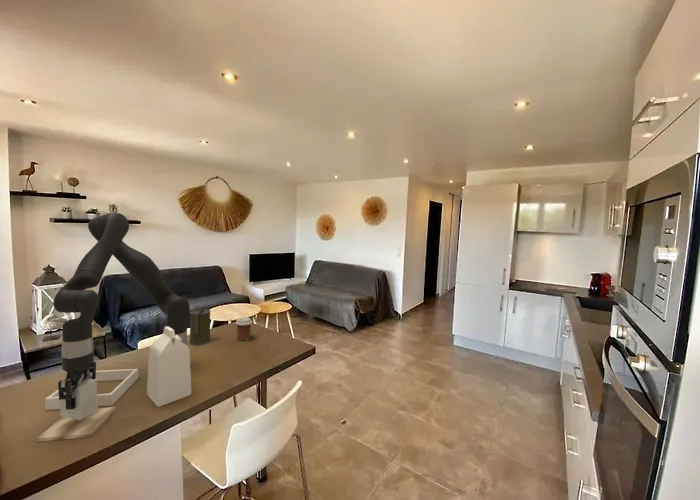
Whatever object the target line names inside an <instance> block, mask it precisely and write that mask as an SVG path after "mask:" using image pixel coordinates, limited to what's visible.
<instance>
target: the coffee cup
mask: <svg viewBox="0 0 700 500" xmlns="http://www.w3.org/2000/svg"><path fill="white" fill-rule="evenodd" d="M252 324H253V320H251V318H250V317H249V316H248V317H247V316H246V317H244V316H243V317H238V319H237V320H236V321H235V325H236V330H237V331H236V332H237V340H238V339H239V340H247V339H249V338H250V337H251V336H250V335H251V329H252ZM249 340H250V339H249ZM247 341H248V340H247Z"/></svg>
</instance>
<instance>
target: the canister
mask: <svg viewBox="0 0 700 500" xmlns="http://www.w3.org/2000/svg"><path fill="white" fill-rule="evenodd" d="M208 342H209V343H210V342H211V309H210V308H209V309H208V308H205V306H204V305H198V306H196V307H195V309H193V310H190V314H189V344H190V345H192V346H203V344H204V345H207V344H208ZM206 343H207V344H206Z"/></svg>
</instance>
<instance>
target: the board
mask: <svg viewBox="0 0 700 500" xmlns="http://www.w3.org/2000/svg"><path fill="white" fill-rule="evenodd" d="M117 409H118V408H117V406H112V407H110V406H109V407H98V410H97V411H95V412H93V413H91V414H90V415H88V416H86V417H85V418H83V419H81V420H78V419H72V418H67V417H62V416H60V418H59V419H58V420H56V422H54V423H53V424H52V425H51V426H49V428H47V429H46V430H45V431H44V432H42V433H41V434H40V435H39V436H38V437H37V438H36V442H38V443H39V442H49V441H59V440H60V441H61V440H72V439H83V438H92V437H93V436H94V435H95V434H96V433H97V432H98V430H100V428H101V427H102V426H103V425H104V424H105V423H106V422H107V421H108V420H109V418H110V417H111V416H112V415H114V413H115V412H116V411H117Z"/></svg>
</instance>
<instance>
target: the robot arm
mask: <svg viewBox="0 0 700 500" xmlns="http://www.w3.org/2000/svg"><path fill="white" fill-rule="evenodd" d="M87 227H88V231H89V233H90V234H91V236H92V237H93V238H94V239H95V240H96V241H97V242H96V243H95V244H94V246H92V247H91V249H90V250H89V251H88V252H87V253H86V254H85V255H84V256H83V258H82V259H81V260H80V262H79V264H78V265H77V268H76V270H75V271H74V274H73V276H71V278H69V280H68V281H67V282H66V283H65V284H64V285H63V286H62V287H61V288H60V289H59V291H58V292H56V295H55V296H54V298H53V302H52V303H53V304H52V305H53V308H54V310H55V311H56V312H58V313H62V314H69V313H70V314H71V313H75V314H76V313H80V315H79V317H78V318H72V319H68V320H66V321H64V322H63V324H62V327H61V328H62V330H61V331H62V333H61V334H62V344H61V369H62V370H63V371H64V372H66V376H65V379H63V380H59V381H58V383H57V385H58V386H57V390H59V400H66V409H67V410H72V409H74V408H75V407H76V400H75V395H76V389H77V388H78V387H79V386H80V384H81V382H83V381H84V380H85V379H86V378H87V379H95V378H96V371H97V362H96V361H95V359H94V358H95V357H94V355H95V354H94V339H93V322H94V319H95V314H96V312H97V309H98V307H99V306H98V305H99V302H100V298H99V294H98V293H97V292H96V291H95V290H92V289H93V288H95V287H97V286H99V284H100V282H101V280H102V278H103V275H104V272H105V270H106V268H107V266H108V263H109V262H110V259H111V258H112V256H113V257H114V258H115V259H116V260H117V261H118V262H119V263H120V264H121V266H122V267H123V268H124V269H125V270H126V271H127V272H128V273H129V274H130V276H131V277H132V278H133V280H135V282H136V283H138V284H139V285H140V287H142V288H143V290H144V291H146V293H148V294H149V295H150V296H151V297H152V299H153V300H154V302H155V303H156V305H157V306H158V308H159V309H160V311H161V312H162V313H163V314H164V315H166V316H167V319H166V320H167V324H165V325H164V326H163V333H164V327H170V328H172V329H173V330H174V332H175V336H176V335H177V336H179V337H180V338H182V340H181V342H182V343H184V344H185V345H187V346H188V348H189V345H188V327H189V325H190V311H191V310H190V303H189V301H188V299H186V298H184V297H183V296H179V295H177V294H176V293H175V292H173V291H172V289H171V288H170V287H169V286H168V285H167V283H166V282H165V280H164V276H163V274H162V271H161V270H160V267H158V266H157V265H156V263H155V261H153V259H152V258H151V257H150V256H148V255H147V254H145V253H143V252H141V251H139V250H138V249H134V248H133V247H132V246H129V245H128V244H127V243H126V242H124V241H123V239H124V238H125V237H126V236H127V234H128V231H129V229H130V223H129V220H128V219H127V217H126V216H125V215H124V214H122V213H120V212H109V213H106V214H103V215H98V216H96V217H94V218H91V219H90V220H89V221H88V223H87ZM163 333H162V334H163ZM189 349H190V348H189ZM90 373H92V376H91V374H90ZM71 385H76V386H75V387H71ZM71 390H73V391H72V394H71ZM64 393H65V394H64Z"/></svg>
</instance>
